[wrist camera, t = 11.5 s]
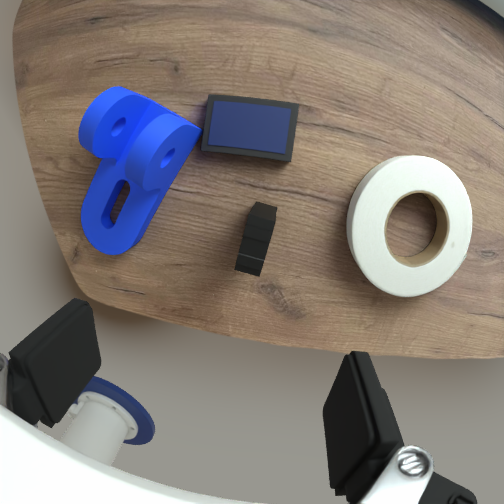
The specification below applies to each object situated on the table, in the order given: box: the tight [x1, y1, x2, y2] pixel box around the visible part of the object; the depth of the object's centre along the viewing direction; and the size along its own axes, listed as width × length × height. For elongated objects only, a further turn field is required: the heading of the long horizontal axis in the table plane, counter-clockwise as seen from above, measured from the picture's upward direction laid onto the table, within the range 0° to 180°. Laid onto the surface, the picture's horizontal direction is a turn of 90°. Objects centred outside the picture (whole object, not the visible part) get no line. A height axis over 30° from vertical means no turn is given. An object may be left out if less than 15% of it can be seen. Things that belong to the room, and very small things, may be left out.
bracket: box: [79, 87, 203, 255], centre depth 26 cm, size 18×8×9 cm, turn 145°
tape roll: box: [347, 156, 472, 297], centre depth 27 cm, size 16×15×3 cm
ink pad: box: [201, 94, 299, 162], centre depth 27 cm, size 9×6×2 cm, turn 82°
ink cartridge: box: [234, 202, 277, 276], centre depth 27 cm, size 5×2×8 cm, turn 164°
